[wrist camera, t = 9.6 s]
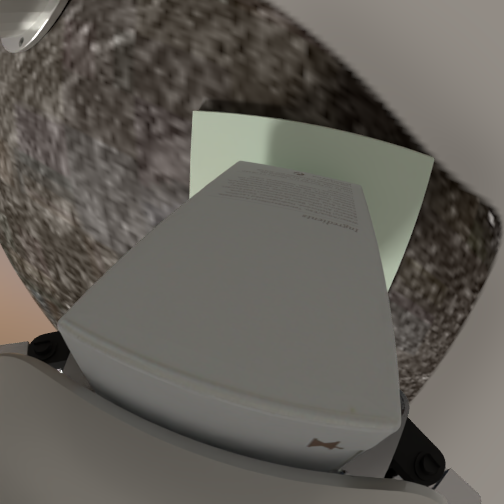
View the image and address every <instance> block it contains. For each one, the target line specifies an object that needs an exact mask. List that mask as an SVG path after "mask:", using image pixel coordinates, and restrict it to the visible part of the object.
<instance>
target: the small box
mask: <svg viewBox="0 0 504 504" xmlns="http://www.w3.org/2000/svg"><path fill="white" fill-rule="evenodd" d="M57 327H58V329H59V331H60V333H61V335H62V337H63V339H64V340H65V342H66V344H67V346H68V348H69V350H70V352H71V353H72V355H73V357H74V359H75V360H76V362H77V364H78V366H79V367H80V369H81V371H82V372H83V374H84V376H85V377H86V379H87V381H88V382H89V384H90V386H91V387H92V389H93V390H94V392H95V393H96V394H97V395H99V396H101V397H103V398H104V399H106V400H108V401H110V402H112V403H114V404H115V405H117V406H119V407H121V408H123V409H125V410H127V411H129V412H131V413H133V414H135V415H137V416H139V417H141V418H143V419H145V420H148V421H150V422H152V423H154V424H156V425H159V426H161V427H163V428H166V429H168V430H170V431H173V432H175V433H178V434H180V435H183V436H185V437H188V438H191V439H193V440H196V441H199V442H202V443H204V444H207V445H210V446H213V447H216V448H219V449H223V450H226V451H229V452H232V453H236V454H239V455H243V456H247V457H250V458H254V459H258V460H262V461H266V462H271V463H275V464H280V465H284V466H289V467H295V468H300V469H306V470H313V471H319V472H328V471H329V470H333V469H339V468H341V467H342V466H344V465H345V464H347V463H348V462H350V461H351V460H353V459H354V458H356V457H357V456H359V455H360V454H362V453H363V452H365V451H366V450H368V449H370V448H373V447H375V446H376V445H378V444H379V443H380V442H382V441H383V440H384V439H386V438H387V437H388V436H390V435H391V434H393V433H394V432H396V431H397V430H398V429H399V428H400V426H401V404H400V390H399V376H398V362H397V355H396V346H395V337H394V329H393V323H392V317H391V311H390V305H389V298H388V292H387V287H386V281H385V276H384V271H383V266H382V262H381V257H380V252H379V248H378V243H377V239H376V236H375V231H374V228H373V224H372V220H371V216H370V213H369V209H368V205H367V202H366V199H365V196H364V193H363V189H362V187H361V185H358V184H353V183H349V182H345V181H341V180H337V179H333V178H329V177H324V176H320V175H315V174H311V173H306V172H301V171H296V170H291V169H286V168H281V167H275V166H270V165H264V164H259V163H253V162H246V161H238V162H237V163H235V164H234V165H233V166H231V167H230V168H229V169H227V170H226V171H225V172H223V173H222V174H221V175H219V176H218V177H217V178H216V179H214V180H213V181H211V182H210V183H209V184H207V185H206V186H205V187H204V188H203V189H201V190H200V191H199V192H198V193H196V194H195V195H194V196H192V197H191V198H190V199H189V200H188V201H186V202H185V203H184V204H183V205H181V206H180V207H179V208H178V209H176V210H175V211H174V212H173V213H172V214H171V215H169V216H168V217H167V218H166V219H165V220H164V221H162V222H161V223H160V224H159V225H158V226H156V227H155V228H154V229H153V230H152V231H151V232H149V233H148V234H147V235H146V236H145V237H144V238H143V239H141V240H140V241H139V242H138V243H137V244H136V245H135V246H134V247H132V248H131V249H130V250H129V251H128V252H127V253H126V254H125V255H124V256H123V257H122V258H121V259H120V260H118V261H117V262H116V263H115V264H114V265H113V266H112V267H111V268H110V269H109V270H108V271H107V272H106V273H105V274H104V275H103V276H102V277H101V278H100V279H99V280H98V281H97V282H96V283H95V284H93V285H92V286H91V287H90V288H89V289H88V290H87V291H86V292H85V293H84V294H83V296H82V297H81V298H80V299H79V300H78V301H77V302H76V303H75V304H74V305H73V306H72V307H71V308H70V309H69V310H68V311H67V312H66V313H65V314H64V315H63V316H62V317H61V319H60V320H59V321H58V325H57Z"/></svg>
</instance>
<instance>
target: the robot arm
mask: <svg viewBox="0 0 504 504" xmlns="http://www.w3.org/2000/svg"><path fill="white" fill-rule="evenodd" d="M68 1H69V0H0V38H1V41H2V44H3V46H4V48H5V49H6V50H7V51H9V52H13V53H15V52H23V51H26V50H28V49H30V48H31V47H33V46H34V45H35V44H36V43H38V41H39V40H40V39H41V38H42V37H43V36H44V35H45V34H46V33H47V32H48V30H49V29H50V28H51V27H52V25H53V24H54V23H55V21H56V20H57V18H58V17H59V15H60V14H61V12H62V11H63V9H64V7H65V6H66V4H67V2H68ZM400 404H401V426H400V428H399V429H398V430H397V431H396V432H394V433H393V434H391V435H390V436H388V437H387V438H386V439H384V440H383V441H382V442H380V443H379V444H378V445H376V446H375V447H373V448H370V449H368V450H366V451H365V452H363V453H362V454H360V455H359V456H357V457H356V458H354V459H353V460H351V461H350V462H348V463H347V464H345V465H344V466H342V467H341V468H339V469H333V470H329V471H328V472H319V471H313V470H306V469H300V468H295V467H289V466H284V465H280V464H275V463H271V462H266V461H262V460H258V459H254V458H250V457H247V456H243V455H239V454H236V453H232V452H229V451H226V450H223V449H219V448H216V447H213V446H210V445H207V444H204V443H202V442H199V441H196V440H193V439H191V438H188V437H185V436H183V435H180V434H178V433H175V432H173V431H170V430H168V429H166V428H163V427H161V426H159V425H156V424H154V423H152V422H150V421H148V420H145V419H143V418H141V417H139V416H137V415H135V414H133V413H131V412H129V411H127V410H125V409H123V408H121V407H119V406H117V405H115V404H114V403H112V402H110V401H108V400H106V399H104V398H103V397H101V396H99V395H97V394H96V393H95V392H94V390H93V389H92V387H91V386H90V384H89V382H88V381H87V379H86V377H85V376H84V374H83V372H82V371H81V369H80V367H79V366H78V364H77V362H76V360H75V359H74V357H73V355H72V353H71V352H70V350H69V348H68V346H67V344H66V342H65V340H64V339H63V337H62V335H61V333H60V331H57V332H52V333H47V334H43V335H40V336H38V337H36V338H35V339H34V340H33V341H32V342H31V344H29V342H28V341H27V342H21V343H13V344H6V345H0V504H481V498H480V496H479V494H478V493H477V492H476V491H475V490H474V489H473V488H472V487H471V486H470V485H469V484H468V483H466V482H465V481H464V480H463V479H462V478H461V477H460V476H459V475H458V474H457V473H456V472H454V471H453V470H452V469H451V468H450V469H448V470H447V469H446V468H445V459H444V456H443V454H442V453H441V452H440V450H439V449H438V448H437V447H436V446H435V445H434V444H433V443H432V442H431V441H430V440H429V439H428V438H427V437H426V436H425V435H424V434H423V433H422V432H421V431H420V430H419V429H418V428H417V427H416V426H415V424H414V423H413V422H411V420H410V419H409V418H408V414H409V401H408V399H407V397H406V395H405V394H404V393H403V392H402V391H401V390H400Z"/></svg>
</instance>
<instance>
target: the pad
mask: <svg viewBox="0 0 504 504" xmlns="http://www.w3.org/2000/svg"><path fill="white" fill-rule="evenodd" d="M434 159H435V158H433V157H432V156H429V155H426V154H423V153H421V152H418V151H415V150H412V149H408V148H405V147H402V146H399V145H396V144H392V143H389V142H386V141H382V140H378V139H375V138H371V137H367V136H364V135H360V134H356V133H351V132H347V131H343V130H339V129H334V128H329V127H325V126H320V125H315V124H309V123H304V122H298V121H292V120H286V119H280V118H273V117H265V116H258V115H249V114H240V113H229V112H217V111H202V110H197V111H193V120H192V139H191V163H190V198H191V197H192V196H194V195H195V194H196V193H198V192H199V191H200V190H201V189H203V188H204V187H205V186H206V185H207V184H209V183H210V182H211V181H213V180H214V179H216V178H217V177H218V176H219V175H221V174H222V173H223V172H225V171H226V170H227V169H229V168H230V167H231V166H233V165H234V164H235V163H237V162H238V161H246V162H253V163H259V164H264V165H270V166H275V167H281V168H286V169H291V170H296V171H301V172H306V173H311V174H315V175H320V176H324V177H329V178H333V179H337V180H341V181H345V182H349V183H353V184H358V185H361V187H362V189H363V193H364V196H365V199H366V202H367V205H368V209H369V213H370V216H371V220H372V224H373V228H374V231H375V236H376V239H377V243H378V248H379V252H380V257H381V262H382V266H383V271H384V276H385V281H386V287H387V292H388V290H389V288H390V286H391V284H392V281H393V279H394V277H395V274H396V272H397V270H398V267H399V265H400V262H401V260H402V258H403V255H404V252H405V250H406V247H407V245H408V242H409V239H410V237H411V234H412V231H413V228H414V226H415V223H416V220H417V217H418V214H419V211H420V208H421V205H422V202H423V198H424V195H425V192H426V188H427V185H428V182H429V178H430V174H431V171H432V167H433V163H434Z"/></svg>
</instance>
